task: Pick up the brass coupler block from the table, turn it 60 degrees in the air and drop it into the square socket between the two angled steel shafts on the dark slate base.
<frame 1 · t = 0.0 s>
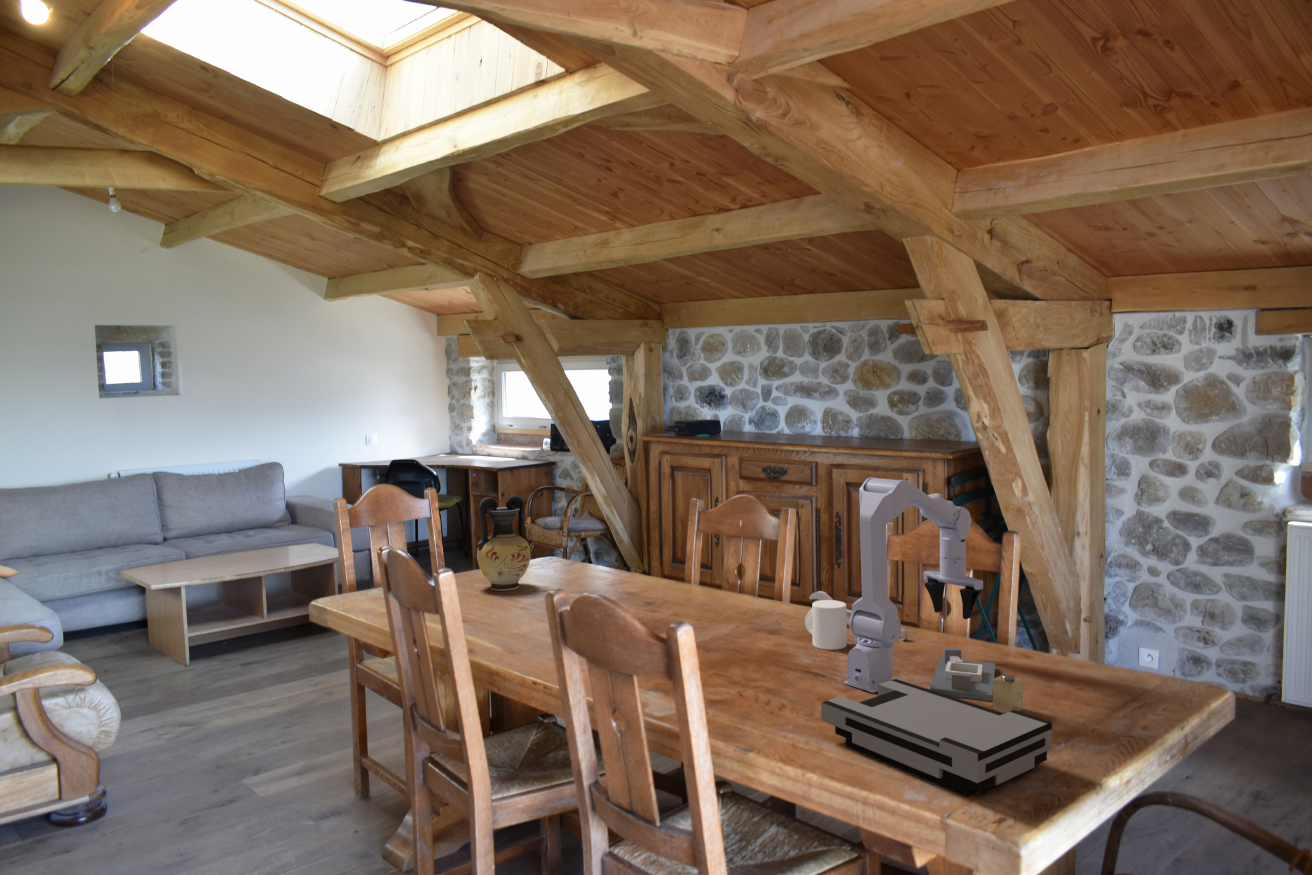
hand: (952, 614, 205), 10 cm above the table, tool pointing down, fingers open, 7 cm apart
game console: (931, 755, 153), on the table
amphora: (504, 588, 285), on the table
coupler: (1007, 708, 172), on the table
mug: (824, 644, 218), on the table
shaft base: (963, 680, 189), on the table
wrench: (856, 630, 230), on the table
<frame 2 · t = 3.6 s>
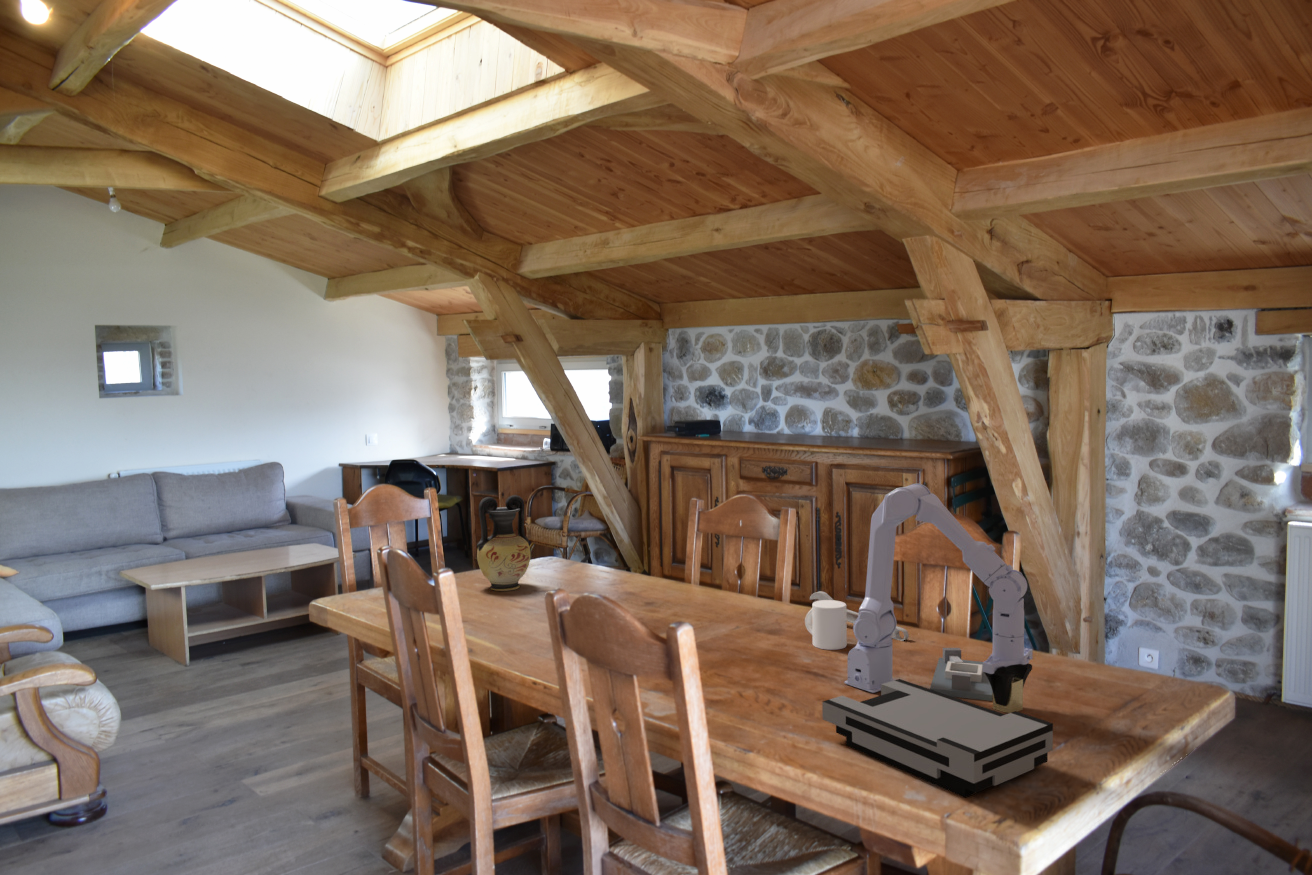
hand: (1007, 701, 172), 1 cm above the table, tool pointing down, fingers closed on coupler, 4 cm apart
coupler: (1007, 708, 172), on the table, touching gripper
everything else where it was.
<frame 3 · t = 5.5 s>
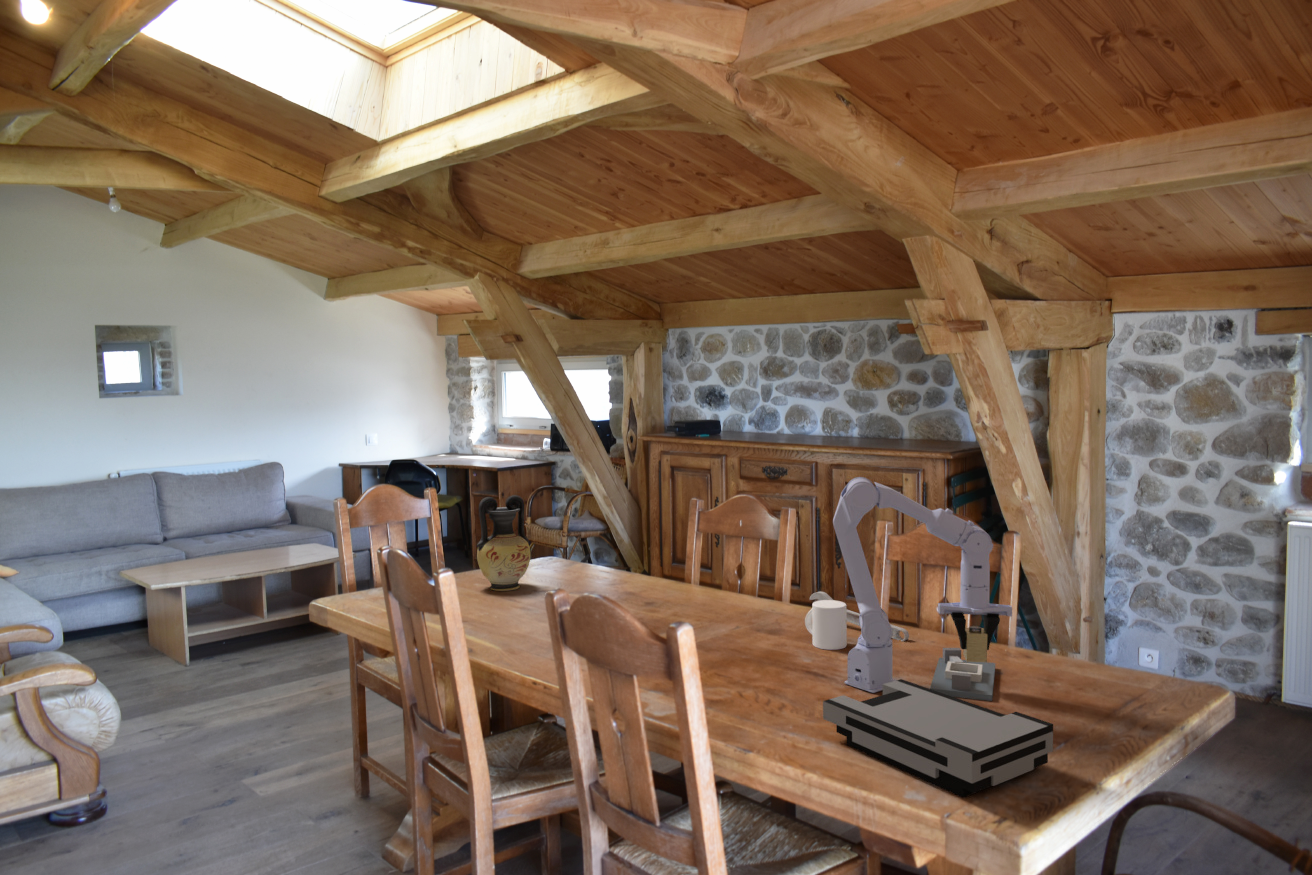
hand: (974, 648, 184), 8 cm above the table, tool pointing down, fingers closed on coupler, 4 cm apart
coupler: (974, 658, 184), point 6 cm above the table, touching gripper
everything else where it was.
when the fingers open (4 cm above the table, at t = 7.5 s): coupler stays where it is, resting on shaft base.
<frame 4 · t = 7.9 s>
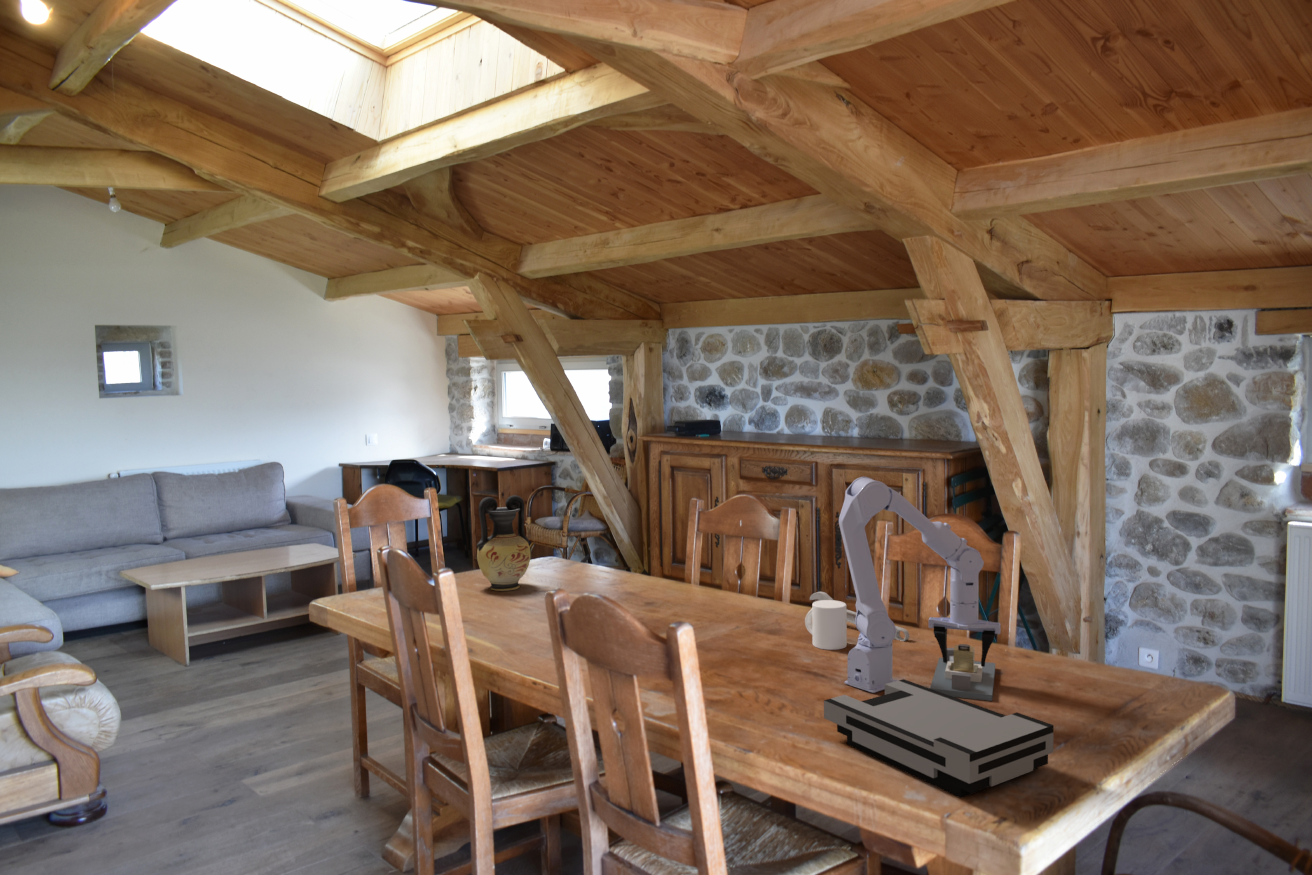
hand: (964, 663, 189), 4 cm above the table, tool pointing down, fingers open, 7 cm apart
coupler: (963, 675, 189), point 1 cm above the table, touching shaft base
everything else where it was.
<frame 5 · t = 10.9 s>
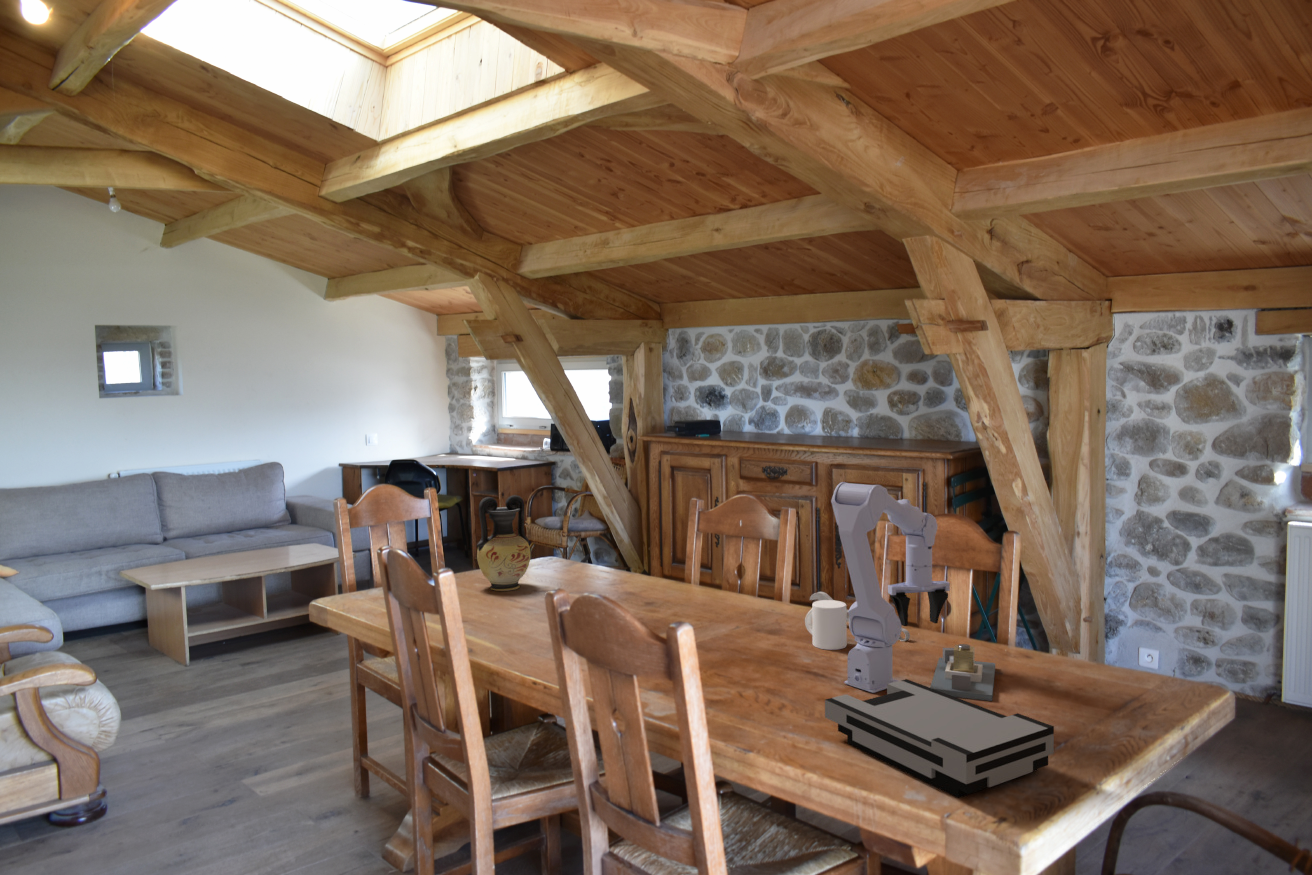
hand: (918, 623, 200), 9 cm above the table, tool pointing down, fingers open, 7 cm apart
at the end: coupler 0.5 cm off-centre on the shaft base, point 1.2 cm above the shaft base's base; coupler tilted 0°; the gripper is holding nothing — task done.
